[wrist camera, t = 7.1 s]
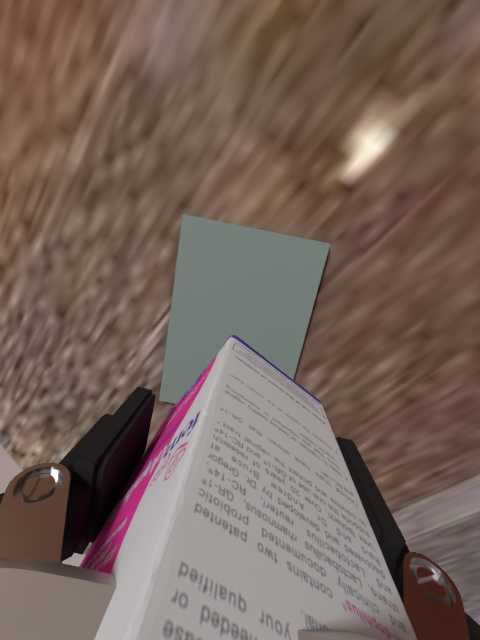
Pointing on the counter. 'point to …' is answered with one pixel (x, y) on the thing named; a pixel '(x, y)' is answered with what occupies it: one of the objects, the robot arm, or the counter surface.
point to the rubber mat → (238, 297)
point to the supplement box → (244, 521)
